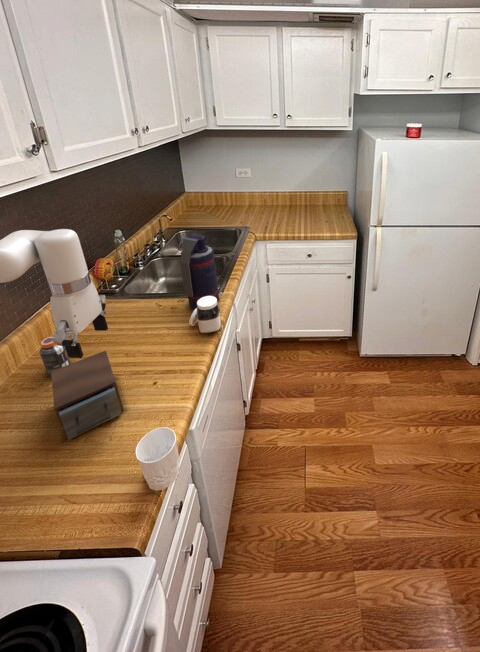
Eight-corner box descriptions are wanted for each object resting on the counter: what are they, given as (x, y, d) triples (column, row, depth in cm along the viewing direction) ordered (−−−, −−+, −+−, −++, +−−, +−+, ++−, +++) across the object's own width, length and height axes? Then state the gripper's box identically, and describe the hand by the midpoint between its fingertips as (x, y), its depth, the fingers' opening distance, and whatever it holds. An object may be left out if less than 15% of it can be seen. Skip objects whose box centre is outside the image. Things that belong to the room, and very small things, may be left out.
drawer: (126, 427, 84) (118, 402, 81) (70, 455, 77) (60, 430, 74) (112, 381, 97) (105, 359, 94) (64, 402, 90) (55, 379, 87)
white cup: (160, 501, 69) (151, 470, 66) (136, 481, 73) (127, 450, 69) (190, 467, 76) (183, 437, 72) (167, 451, 79) (160, 421, 75)
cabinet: (124, 410, 89) (115, 381, 85) (66, 439, 82) (54, 408, 78) (113, 377, 100) (105, 350, 96) (61, 399, 92) (50, 371, 89)
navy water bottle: (202, 293, 143) (193, 228, 132) (225, 299, 139) (217, 233, 128) (179, 311, 131) (167, 241, 120) (203, 317, 127) (193, 247, 116)
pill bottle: (75, 366, 104) (65, 337, 100) (54, 379, 99) (42, 349, 95) (64, 359, 106) (54, 331, 102) (43, 372, 102) (32, 343, 97)
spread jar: (221, 335, 118) (217, 307, 114) (187, 340, 115) (182, 312, 111) (221, 315, 129) (218, 289, 124) (191, 319, 126) (186, 293, 122)
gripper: (79, 264, 84) (96, 320, 90) (23, 304, 68) (48, 369, 74) (109, 265, 84) (123, 321, 90) (59, 304, 68) (81, 369, 74)
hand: (89, 342), depth 82 cm, fingers open, 9 cm apart
